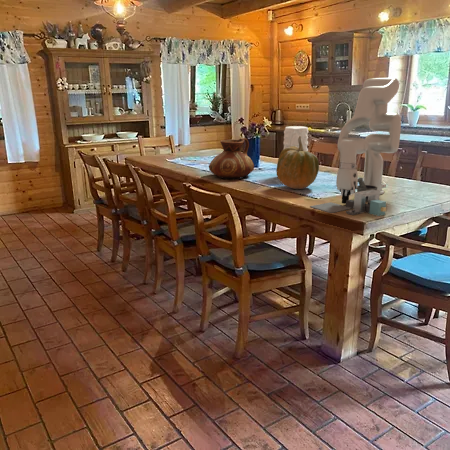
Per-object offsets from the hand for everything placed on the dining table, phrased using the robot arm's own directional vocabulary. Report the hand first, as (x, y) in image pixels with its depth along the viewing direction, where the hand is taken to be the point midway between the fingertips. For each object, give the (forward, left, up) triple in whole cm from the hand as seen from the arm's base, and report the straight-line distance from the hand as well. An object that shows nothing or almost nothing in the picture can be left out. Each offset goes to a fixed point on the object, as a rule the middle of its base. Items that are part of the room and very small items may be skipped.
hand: (345, 203), depth 216 cm
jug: (+2, -98, -1) cm, 98 cm away
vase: (-33, -74, -1) cm, 81 cm away
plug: (+1, +20, -1) cm, 20 cm away
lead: (0, +10, -1) cm, 10 cm away
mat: (+10, 0, -1) cm, 10 cm away
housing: (0, +13, -1) cm, 13 cm away
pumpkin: (-8, -44, -1) cm, 45 cm away
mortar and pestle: (-16, -1, -1) cm, 16 cm away
